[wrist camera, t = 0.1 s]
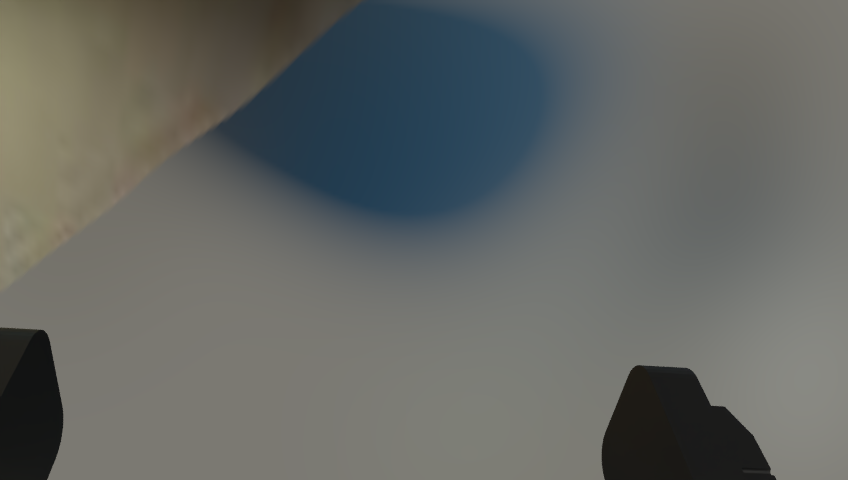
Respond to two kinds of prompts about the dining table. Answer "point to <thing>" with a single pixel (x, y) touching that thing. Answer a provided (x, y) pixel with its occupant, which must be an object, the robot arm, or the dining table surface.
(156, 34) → the dining table surface
